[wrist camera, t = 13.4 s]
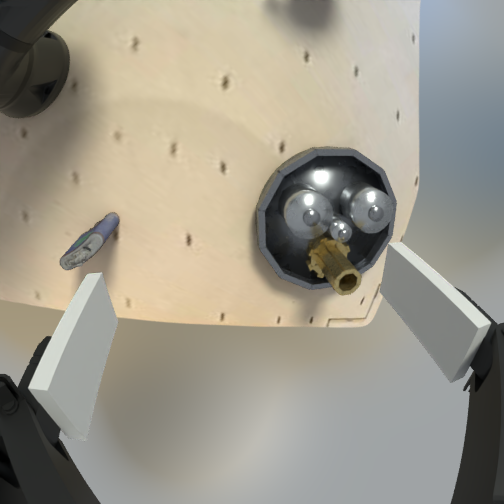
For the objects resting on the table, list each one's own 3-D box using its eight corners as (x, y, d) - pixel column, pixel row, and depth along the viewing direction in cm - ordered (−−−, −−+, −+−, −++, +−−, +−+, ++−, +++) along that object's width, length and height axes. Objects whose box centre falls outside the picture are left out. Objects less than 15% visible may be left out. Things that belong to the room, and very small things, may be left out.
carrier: (258, 286, 54) (265, 312, 47) (252, 148, 44) (261, 155, 37) (377, 270, 57) (397, 292, 50) (390, 148, 46) (418, 156, 39)
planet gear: (304, 275, 53) (321, 306, 45) (306, 235, 50) (326, 262, 42) (344, 271, 54) (366, 299, 46) (348, 232, 51) (374, 257, 42)
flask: (114, 208, 45) (92, 235, 35) (124, 223, 46) (105, 252, 36) (76, 237, 46) (50, 268, 36) (86, 250, 47) (63, 283, 37)
